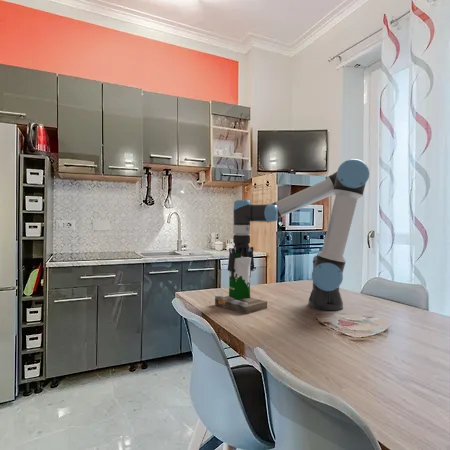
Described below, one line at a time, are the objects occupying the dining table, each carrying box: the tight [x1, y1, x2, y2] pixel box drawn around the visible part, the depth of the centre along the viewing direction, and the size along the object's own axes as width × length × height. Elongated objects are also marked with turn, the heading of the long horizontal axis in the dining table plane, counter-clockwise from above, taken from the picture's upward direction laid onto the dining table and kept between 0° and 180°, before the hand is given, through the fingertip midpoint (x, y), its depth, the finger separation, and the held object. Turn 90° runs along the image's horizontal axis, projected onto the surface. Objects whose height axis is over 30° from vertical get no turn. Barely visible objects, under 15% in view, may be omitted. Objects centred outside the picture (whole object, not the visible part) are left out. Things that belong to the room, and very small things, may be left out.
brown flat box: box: [214, 294, 268, 315], centre depth 147 cm, size 19×15×4 cm
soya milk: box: [227, 253, 251, 300], centre depth 147 cm, size 9×9×20 cm
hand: (241, 285), depth 147 cm, fingers open, 8 cm apart
